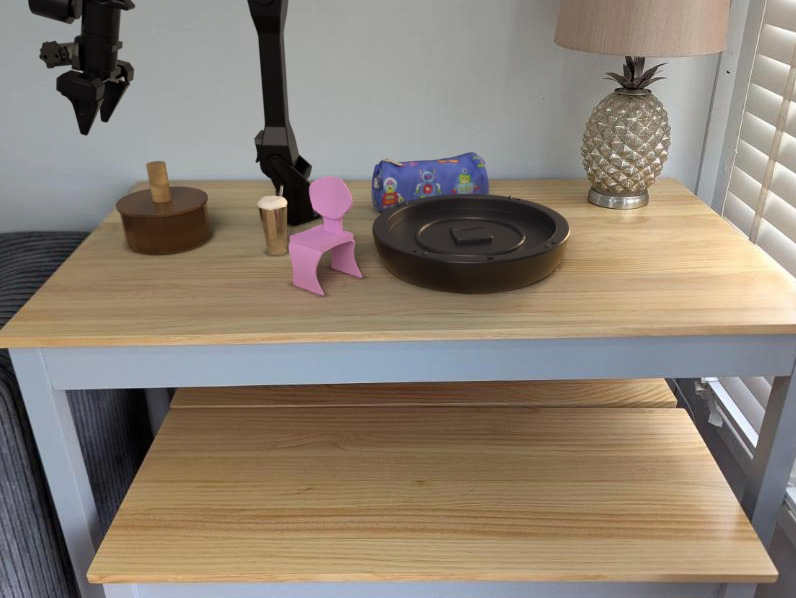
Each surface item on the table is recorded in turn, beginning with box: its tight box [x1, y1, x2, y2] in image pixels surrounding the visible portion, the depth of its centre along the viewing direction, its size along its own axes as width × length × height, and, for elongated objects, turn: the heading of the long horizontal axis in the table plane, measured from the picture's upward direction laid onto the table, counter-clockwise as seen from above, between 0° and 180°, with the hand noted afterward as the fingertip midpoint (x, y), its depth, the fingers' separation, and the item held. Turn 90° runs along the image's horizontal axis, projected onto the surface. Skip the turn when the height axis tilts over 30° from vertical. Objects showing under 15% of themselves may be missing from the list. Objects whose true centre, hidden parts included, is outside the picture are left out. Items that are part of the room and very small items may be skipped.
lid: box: [115, 160, 209, 218], centre depth 126 cm, size 15×15×7 cm
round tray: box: [371, 193, 571, 294], centre depth 120 cm, size 30×6×30 cm
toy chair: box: [288, 175, 364, 297], centre depth 110 cm, size 8×9×15 cm
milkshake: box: [257, 185, 288, 256], centre depth 123 cm, size 5×5×10 cm
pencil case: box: [371, 151, 490, 213], centre depth 140 cm, size 22×9×10 cm, turn 104°
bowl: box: [119, 202, 212, 256], centre depth 129 cm, size 14×14×6 cm
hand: (94, 128), depth 131 cm, fingers open, 9 cm apart
